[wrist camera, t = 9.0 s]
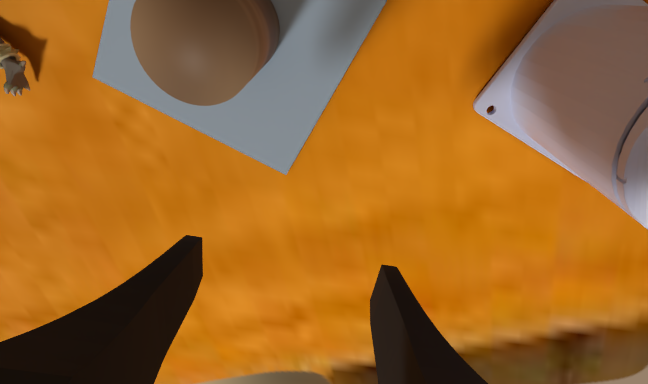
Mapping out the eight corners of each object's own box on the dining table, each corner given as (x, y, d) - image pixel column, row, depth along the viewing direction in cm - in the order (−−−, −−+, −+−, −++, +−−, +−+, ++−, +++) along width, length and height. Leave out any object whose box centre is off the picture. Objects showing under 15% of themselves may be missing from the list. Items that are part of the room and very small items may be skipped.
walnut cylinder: (294, 7, 17) (275, 17, 12) (258, 88, 19) (229, 125, 14) (208, -45, 16) (147, -58, 11) (180, 46, 19) (118, 69, 13)
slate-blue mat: (396, -19, 17) (397, -19, 17) (286, 172, 22) (285, 174, 22) (155, -187, 14) (150, -191, 14) (96, 75, 20) (92, 77, 20)
